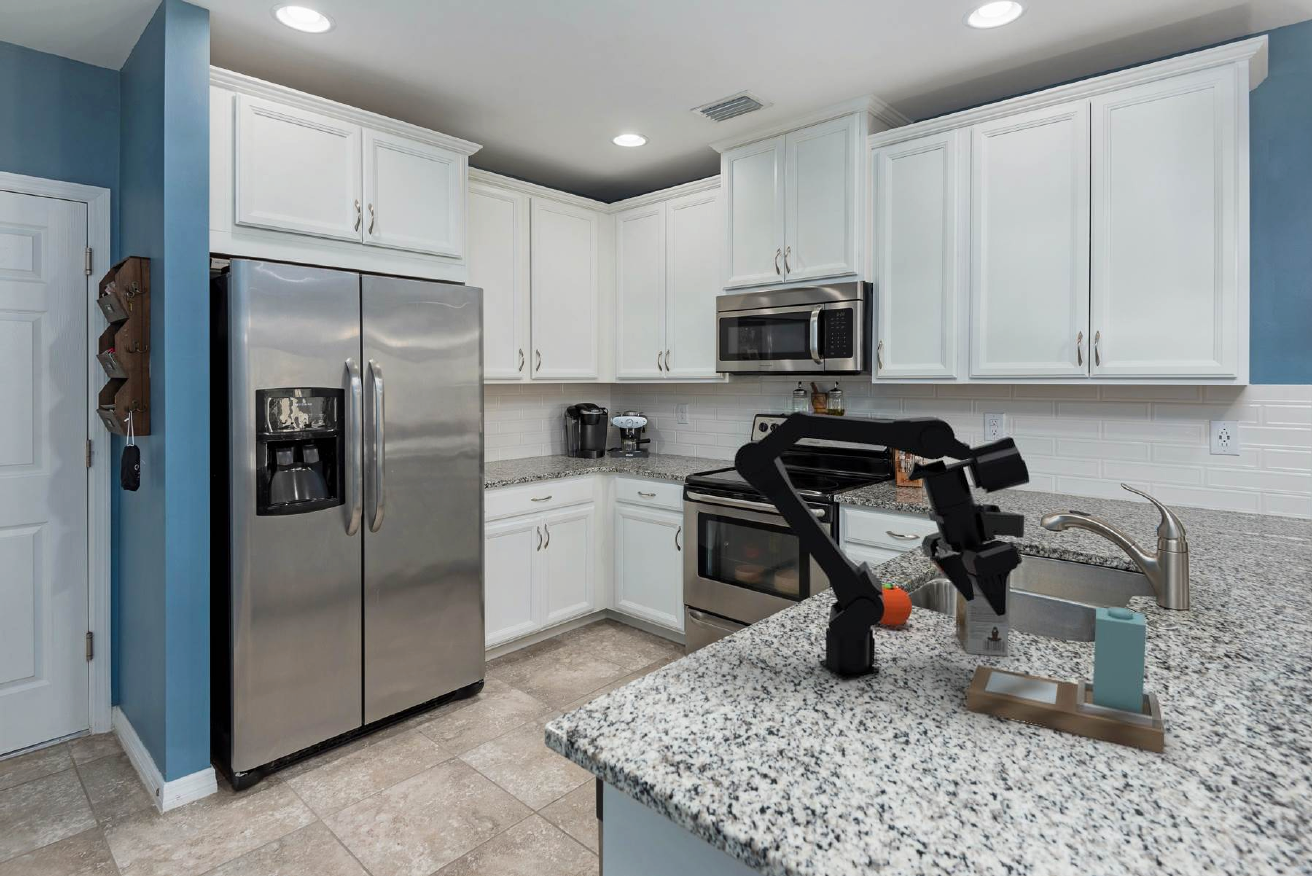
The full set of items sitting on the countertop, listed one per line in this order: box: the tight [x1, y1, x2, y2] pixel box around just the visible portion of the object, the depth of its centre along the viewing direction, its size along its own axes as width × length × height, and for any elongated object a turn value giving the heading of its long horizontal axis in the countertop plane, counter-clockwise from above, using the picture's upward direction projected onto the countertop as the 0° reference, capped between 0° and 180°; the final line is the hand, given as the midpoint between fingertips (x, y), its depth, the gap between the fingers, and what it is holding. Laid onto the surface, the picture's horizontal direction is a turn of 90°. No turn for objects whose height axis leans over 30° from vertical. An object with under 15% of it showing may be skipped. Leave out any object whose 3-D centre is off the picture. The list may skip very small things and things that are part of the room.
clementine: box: [879, 584, 913, 627], centre depth 125 cm, size 8×7×7 cm
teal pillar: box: [1092, 606, 1147, 714], centre depth 87 cm, size 5×5×12 cm
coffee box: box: [955, 571, 1012, 657], centre depth 114 cm, size 9×6×16 cm
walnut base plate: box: [966, 665, 1165, 754], centre depth 90 cm, size 21×10×4 cm, turn 58°
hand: (985, 607), depth 99 cm, fingers open, 9 cm apart
